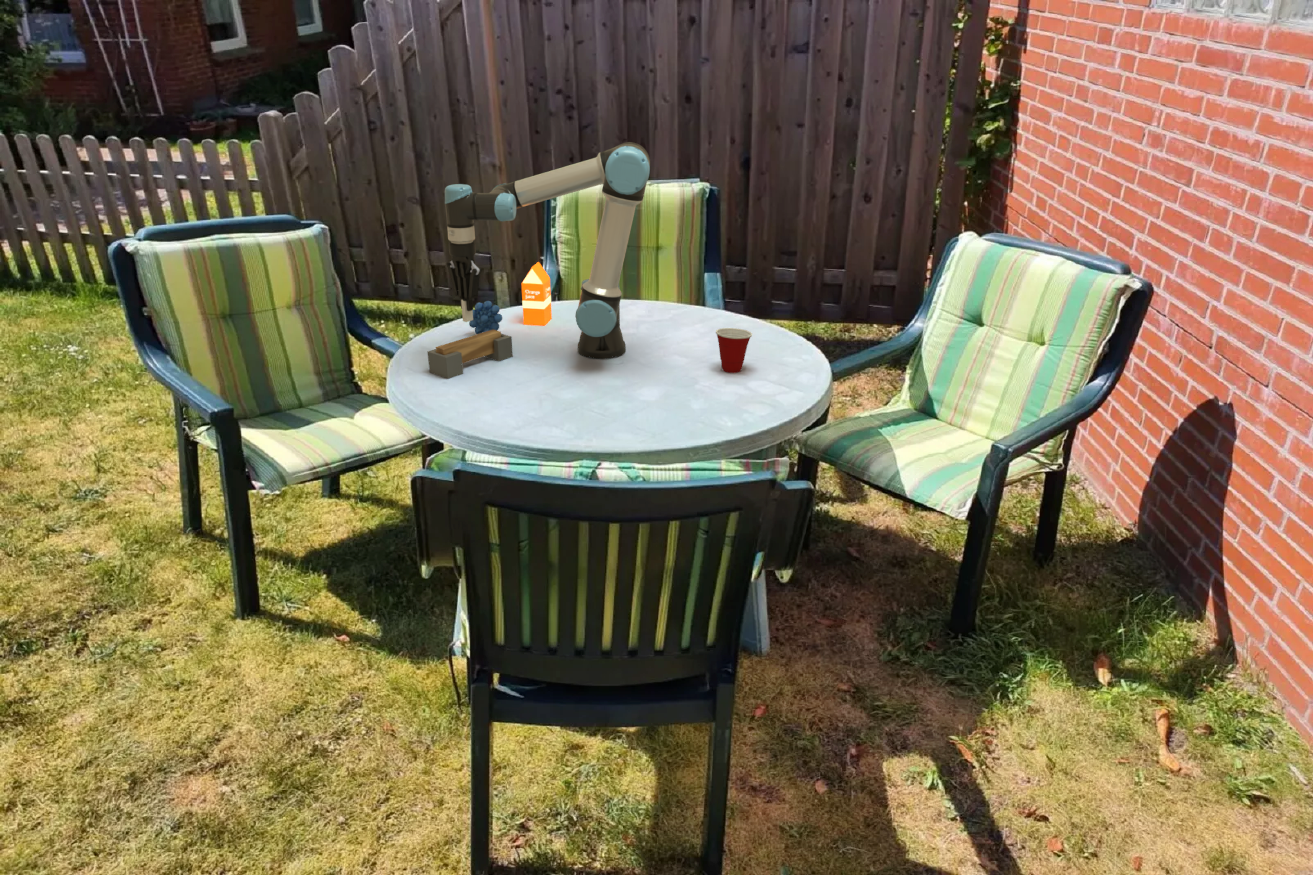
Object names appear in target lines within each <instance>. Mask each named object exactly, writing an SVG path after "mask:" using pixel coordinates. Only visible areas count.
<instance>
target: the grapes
mask: <svg viewBox="0 0 1313 875" xmlns="http://www.w3.org/2000/svg"><path fill="white" fill-rule="evenodd" d="M500 309H501V308H500V306H499V305H496V304H493V302H492V301H490V300H486V301H484V302H476V304H475V305H474V309H473V320H472V321H468V322H469V323H468V325H469V327H470V328H471V329H472V328H473V329H474V333H475V335H477V334H480V333H483V332H486V331H490V330H497V331H499V329H500V324H499V323H501V322H502V320H503V315H502V314H501V313H499V312H500Z"/></svg>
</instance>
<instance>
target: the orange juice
mask: <svg viewBox="0 0 1313 875" xmlns="http://www.w3.org/2000/svg"><path fill="white" fill-rule="evenodd" d="M551 293H552V292H551V278H550V276H549V274H548V273H547V271H546V270H545V269H544V268H543V266H542V264H541V263H540V262H539V261H538V262H536V264H533V265H532V266H531V268H530V270H529V271H528V272H527V274H526V276H525V278H524V279H523V281H522V282H521V298H522V300H521V303H522V314H523V325H524V326H535V327H536V326H538V327H546V326H547V324H548V323H549V322H550V321H551V320H552V317H553V316H552V294H551Z"/></svg>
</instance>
